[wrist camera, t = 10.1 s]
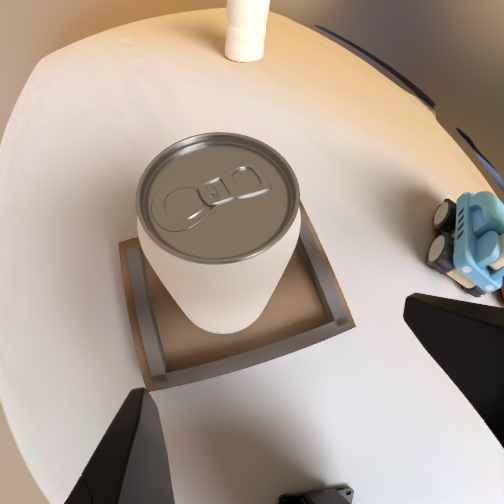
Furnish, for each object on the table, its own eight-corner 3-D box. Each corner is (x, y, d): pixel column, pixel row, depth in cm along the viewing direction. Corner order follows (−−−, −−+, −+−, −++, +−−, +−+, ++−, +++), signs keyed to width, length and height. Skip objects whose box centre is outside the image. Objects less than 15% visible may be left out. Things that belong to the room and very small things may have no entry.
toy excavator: (408, 326, 22) (559, 248, 7) (432, 205, 29) (509, 112, 13) (460, 355, 21) (592, 307, 5) (475, 238, 28) (555, 165, 12)
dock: (343, 331, 22) (362, 323, 18) (156, 390, 18) (142, 393, 15) (293, 213, 26) (302, 190, 23) (127, 255, 23) (113, 235, 20)
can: (165, 271, 20) (109, 160, 9) (241, 238, 22) (255, 111, 11) (201, 350, 18) (159, 315, 7) (283, 310, 19) (349, 225, 9)
